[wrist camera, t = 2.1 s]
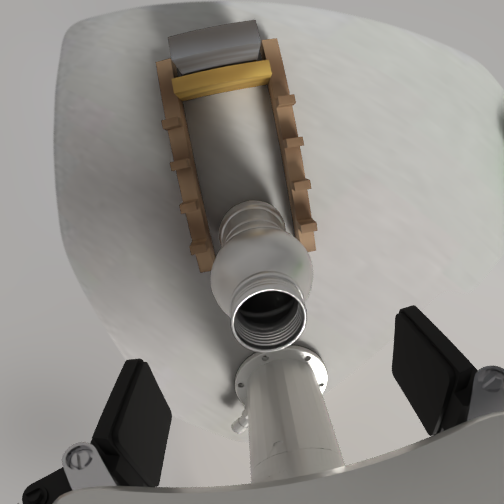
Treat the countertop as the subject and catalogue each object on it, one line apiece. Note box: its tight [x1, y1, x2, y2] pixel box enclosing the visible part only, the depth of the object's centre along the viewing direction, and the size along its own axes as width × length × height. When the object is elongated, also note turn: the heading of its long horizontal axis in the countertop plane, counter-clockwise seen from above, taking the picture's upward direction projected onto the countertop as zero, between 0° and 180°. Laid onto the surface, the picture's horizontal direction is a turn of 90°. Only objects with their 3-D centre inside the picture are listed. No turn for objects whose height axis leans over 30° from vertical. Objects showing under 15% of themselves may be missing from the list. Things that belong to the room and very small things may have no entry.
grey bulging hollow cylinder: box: [210, 200, 313, 353], centre depth 24 cm, size 6×7×20 cm
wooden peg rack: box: [156, 20, 317, 273], centre depth 27 cm, size 22×12×9 cm, turn 11°
